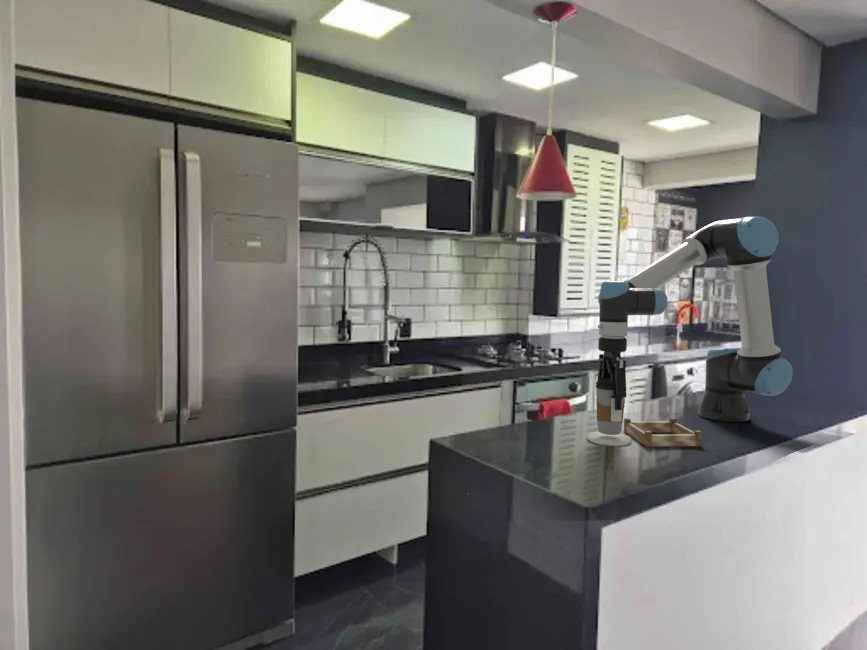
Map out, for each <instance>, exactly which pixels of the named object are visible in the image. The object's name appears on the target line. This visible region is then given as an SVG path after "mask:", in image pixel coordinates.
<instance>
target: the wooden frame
mask: <svg viewBox="0 0 867 650" xmlns="http://www.w3.org/2000/svg"><path fill="white" fill-rule="evenodd" d="M631 420H632V419H631V418H628V417H627V418H626V417H623V432H624V433H626V434H627V435H628V436H629V437H631V438H633V439H635V440H637V441H638V442H639V443H640V444H642V445H644V446H645V447H646V448H651V447H702V438H703V437H702V434H703V432H702V431H701V430H699V429H698V430H694V431H693V430H692V429H690V428H688V427H686V426H684V425H682V424H680V423H678V422H677V420H678V419H677V417H676V418H675V417H670V418H669V421H668V420H667V421H662V420H661V421H657V420H656V421H631ZM653 433H663V434H653ZM664 433H669V434H664ZM671 433H672V434H671Z"/></svg>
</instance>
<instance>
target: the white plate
mask: <svg viewBox="0 0 867 650" xmlns="http://www.w3.org/2000/svg"><path fill="white" fill-rule="evenodd" d="M586 439H587V440H588V442H589V443H590V442H591V443H593V444H596V445H601V446H607V447H625V446H629V445H631V444H632V442H633V441H632V436H630V435H628V434H627V435H626V434H623V433H621V432H620V434H618V435H607V434H602V433H600V432H599V430H598V431H592V432H588V433H587V435H586Z"/></svg>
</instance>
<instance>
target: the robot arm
mask: <svg viewBox="0 0 867 650" xmlns="http://www.w3.org/2000/svg"><path fill="white" fill-rule="evenodd" d="M779 237H780V236H779V232H778V229H777V227H776V226H775V224H774V223H773V221H771V220H769V219H768V218H766V217H764V216H750V215H749V216H743V217H738V218H731V219H720V220H717V221H714V222H712V223H710V224H707V225H705V226H704V227H701V228H700V229H699V230H697V231H695V232H693V233H691V234H690V235H689V236H687V237H685V238H684V239H682V242H681V245H678V246H677V247H676V248H674V249H673V250H671V251H670V252H668V253H666V254H665V255H663V256H662V257H660V258H658V259H657V260H655V261H653V262H652V263H650V264H649V265H648V266H646V267H644V268H643V269H641V270H639V271H638V272H636V273H635V274H632V276H630V277H628V278H626V279H625V280H622V281H621V280H620V281H617V280H616V281H615V280H614V281H607V280H606V281H603V282H602V283H601V284H600V288H599V291H600V292H599V294H598V297H597V303H598V305H599V318H598V319H599V321H598V322H599V324H598V325H597V328H598V335H599V337H598V344H597V346H598V348H597V349H598V351H600V352H603V354H602V353H600V354H599V355H598V362H599V363H598V370H597V371H598V372H597V379H596V380H597V381H598V378H602V377H603V378H611V382H612V390H613V396H611V398H612V401H611V421H612V422H621V421H622V398H623V397H625V398H626V397H627V389H626V388H627V378H626V377H627V373H626V366H627V361H626V360H624V359H623V360H622V355H621V354H622V353H625V352H627V349H628V339H627V338H626V337H627V336H628V330H629V329H628V327H629V316H657V315H661V314H663V313H664V312H665V311H666V310H667V307H668V296H667V294H666V292H665V291H664V290H662V289H661V287H662V286H664V285H666V284H667V283H669V282H670V281H673V279H676V278H677V277H678V276H680V275H681V274H683V273H685V272H686V271H688V270H689V269H691V268H693V267H694V266H696V265H697V266H700V265H703V264H705V263H706V262H708V261H711V260H715V259H723V258H725V260H726V261H725V263H726V266H727V267H728V268H729V269H731V270H732V271H733V280H734V289H735V290H734V292H735V298H736V307H737V315H738V323H739V324H738V325H739V333H740V340H741V341H740V342H741V347H724V348H723V347H721V348H711V349H709V350H708V351H707V353H706V359H705V388H704V389H705V390H704V394H703V396H702V399H701V401H700V404H699V405H698V411H697V412H698V416H700V417H701V418H705V419H708V420H713V421H719V422H728V423H740V422H741V423H743V422H747V421H749V420H750V409H749V407H748V406H749V405H748V403H747V400H746V396H745V392H750V393H754V394H758V395H761V396H770V397H773V396H778V395H780V394H782V393H783V392H786V391H785V390H786V389H787V388H788V386H789V385H790V384H791V382H792V379H793V372H794V371H793V366H792V364H791V363H790V362H789V361H788V360H787V359H785V358H783V357H782V350H781V348H780V347H779V346H777V345H776V344H775V339H774V331H773V322H772V313H771V310H772V309H771V304H770V303H771V302H770V294H769V292H770V291H769V286H768V284H769V283H768V276H767V274H768V273H767V265H768V264H769V263H770V262H771V261H772V254H773V253H774V252H775V251H776V250H777V247H778V245H779V241H780V238H779ZM597 381H596V382H597Z"/></svg>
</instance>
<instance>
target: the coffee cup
mask: <svg viewBox="0 0 867 650" xmlns="http://www.w3.org/2000/svg"><path fill="white" fill-rule="evenodd" d="M597 379H598V381H596V382H595V391H596V393H595V394H596V395H595V396H596V399H595V401H596V403H595V404H596V421H597V430H598V431H599V432H600V433H602V434H607V435H618V434H620V433H621V432H622V426H623V424H624V413H625V412H624V411H625V401H626V400H625V399H626V397H623V398H622V421H621V422H612V421H611V401H612V398H611V396H613V390H612V382H611V378H603V377H602V378H598V377H597ZM626 390H627V387H626Z"/></svg>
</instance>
